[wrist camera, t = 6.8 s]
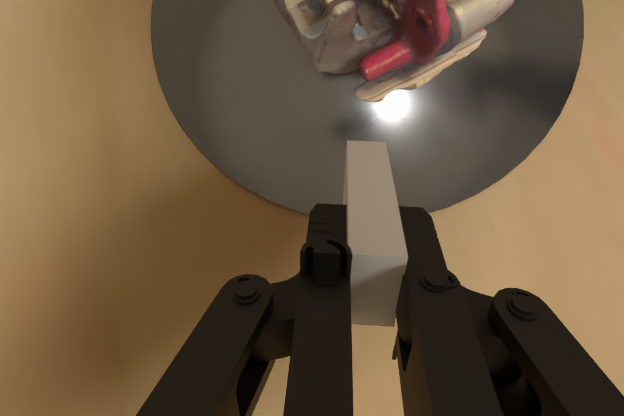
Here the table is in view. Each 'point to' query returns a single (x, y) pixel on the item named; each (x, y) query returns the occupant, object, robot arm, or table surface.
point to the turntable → (361, 102)
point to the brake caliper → (389, 37)
